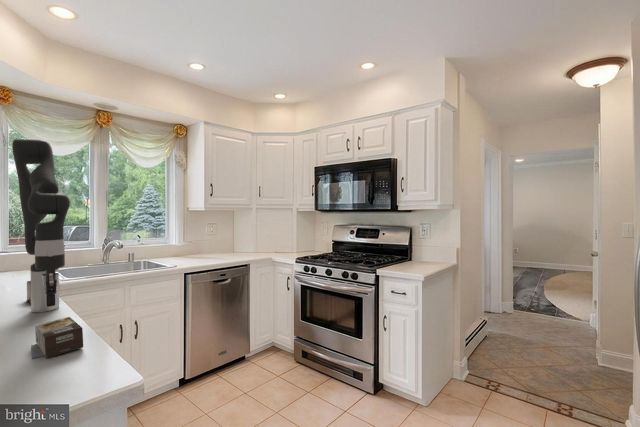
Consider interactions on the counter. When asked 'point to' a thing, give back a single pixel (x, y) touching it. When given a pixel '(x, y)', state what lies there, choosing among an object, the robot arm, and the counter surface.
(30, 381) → the counter surface
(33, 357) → the mat
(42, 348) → the coffee box
